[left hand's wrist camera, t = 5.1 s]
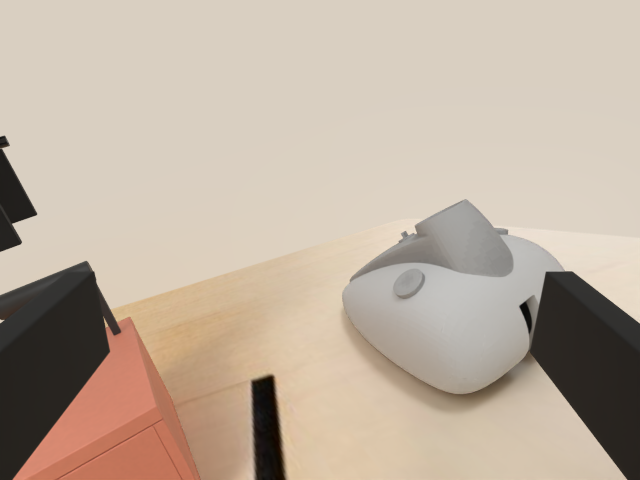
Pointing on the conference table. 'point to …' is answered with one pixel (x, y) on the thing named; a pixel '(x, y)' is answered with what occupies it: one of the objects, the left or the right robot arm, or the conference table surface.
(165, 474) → the chest
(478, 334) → the projector
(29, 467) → the lid
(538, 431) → the conference table surface
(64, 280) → the left robot arm
